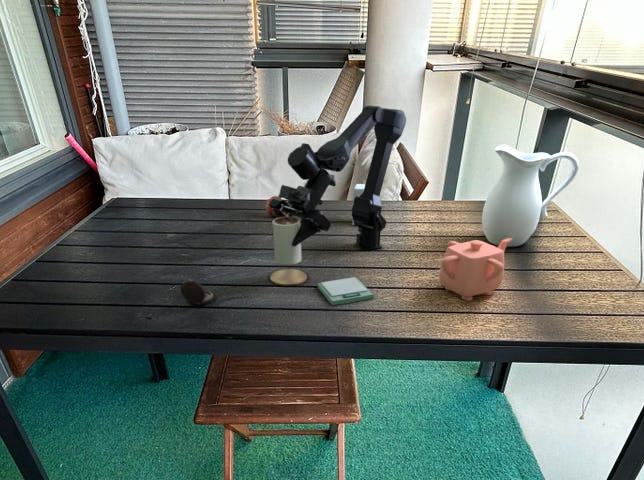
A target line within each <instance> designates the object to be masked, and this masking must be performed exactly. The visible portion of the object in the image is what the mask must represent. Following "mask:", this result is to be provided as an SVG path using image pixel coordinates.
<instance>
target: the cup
mask: <svg viewBox="0 0 644 480" xmlns="http://www.w3.org/2000/svg"><path fill="white" fill-rule="evenodd" d="M300 226H301V218H299V217H296V216H292V217H279V218H276V217H275V218H274V219H273V220H272V239H273V251H274V252H273V253H274V262H275V263H277V264H279V265H284V266H291V265H292V266H293V265H297V264H299V263H301V262H302V260H303V255H302V242H301V243H300V244H298V245H297V246H295V247H294V246H293V245H292V242H293V240H294V238H295V236H296V234H297V232H298V230H299V228H300Z"/></svg>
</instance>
